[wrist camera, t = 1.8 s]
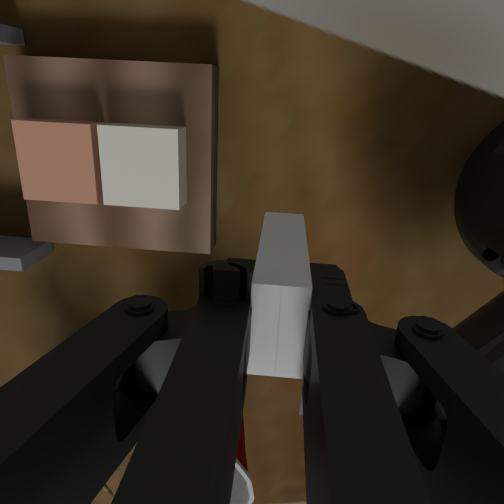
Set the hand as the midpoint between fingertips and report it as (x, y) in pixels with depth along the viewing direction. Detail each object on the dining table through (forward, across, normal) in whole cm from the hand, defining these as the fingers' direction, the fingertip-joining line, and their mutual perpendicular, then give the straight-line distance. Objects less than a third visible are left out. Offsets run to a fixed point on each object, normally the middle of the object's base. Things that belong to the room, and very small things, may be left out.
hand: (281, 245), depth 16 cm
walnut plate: (+20, +14, 0) cm, 24 cm away
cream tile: (+17, +11, 0) cm, 20 cm away
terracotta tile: (+17, +17, 0) cm, 24 cm away
